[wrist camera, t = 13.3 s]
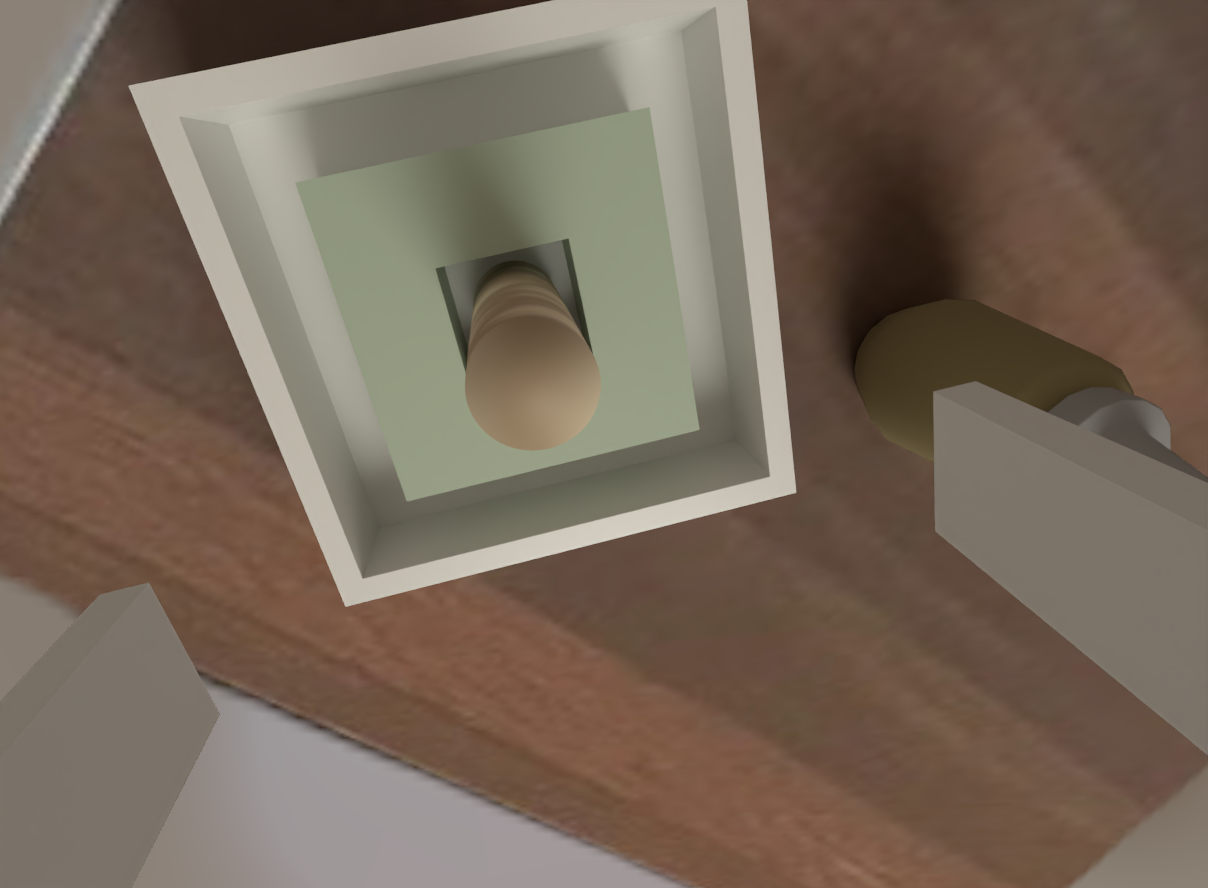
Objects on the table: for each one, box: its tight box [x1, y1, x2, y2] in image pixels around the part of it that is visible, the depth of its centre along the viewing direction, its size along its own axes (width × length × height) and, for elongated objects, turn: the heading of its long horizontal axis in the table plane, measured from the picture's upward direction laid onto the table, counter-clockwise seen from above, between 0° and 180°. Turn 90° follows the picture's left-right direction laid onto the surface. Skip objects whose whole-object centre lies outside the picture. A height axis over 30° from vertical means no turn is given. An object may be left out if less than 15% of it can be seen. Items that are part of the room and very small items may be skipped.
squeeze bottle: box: [854, 299, 1208, 483], centre depth 30 cm, size 8×8×18 cm
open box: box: [129, 0, 796, 607], centre depth 32 cm, size 22×22×6 cm
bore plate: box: [296, 107, 700, 501], centre depth 32 cm, size 14×14×4 cm
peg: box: [465, 261, 601, 451], centre depth 27 cm, size 4×4×14 cm
